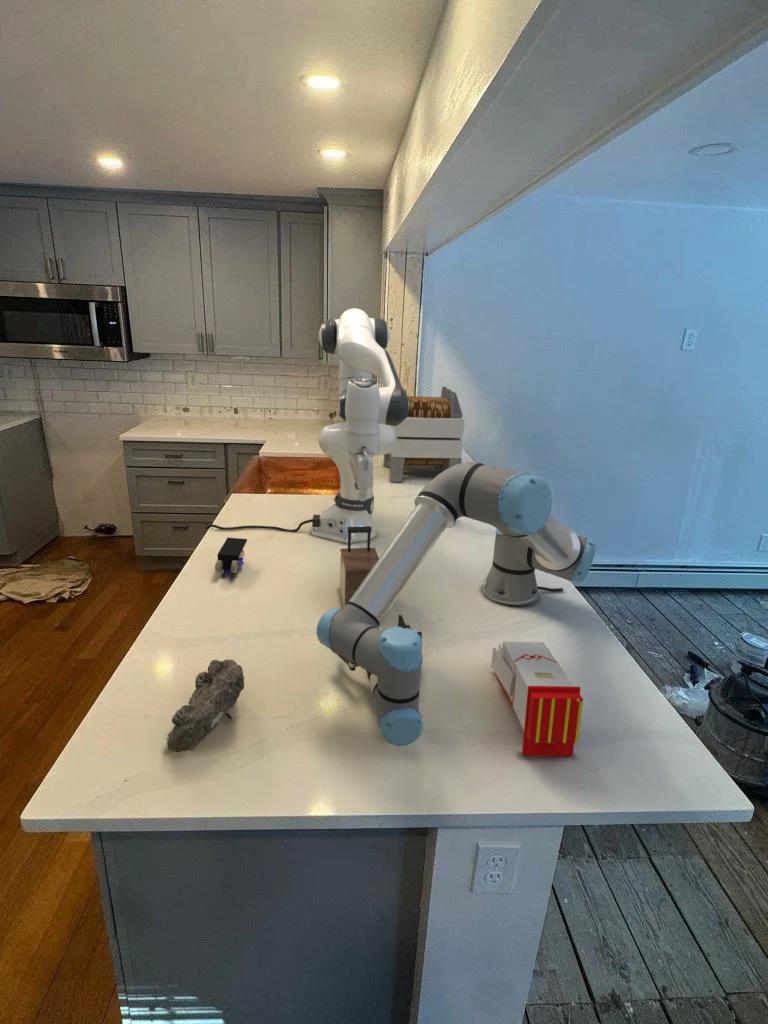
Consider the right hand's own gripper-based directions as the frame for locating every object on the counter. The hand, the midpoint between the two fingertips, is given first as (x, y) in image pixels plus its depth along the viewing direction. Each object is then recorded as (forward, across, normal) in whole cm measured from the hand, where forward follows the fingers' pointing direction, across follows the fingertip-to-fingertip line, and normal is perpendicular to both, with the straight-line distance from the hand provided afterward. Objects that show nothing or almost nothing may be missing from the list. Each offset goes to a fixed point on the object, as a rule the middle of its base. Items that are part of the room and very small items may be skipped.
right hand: (371, 621), depth 131 cm
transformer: (+145, +46, -7) cm, 152 cm away
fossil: (-21, -34, -6) cm, 40 cm away
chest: (+22, +1, -6) cm, 23 cm away
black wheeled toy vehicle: (+44, -34, -6) cm, 56 cm away
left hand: (+27, +1, +22) cm, 35 cm away
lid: (+23, +1, +5) cm, 23 cm away
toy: (-25, +28, -6) cm, 39 cm away
